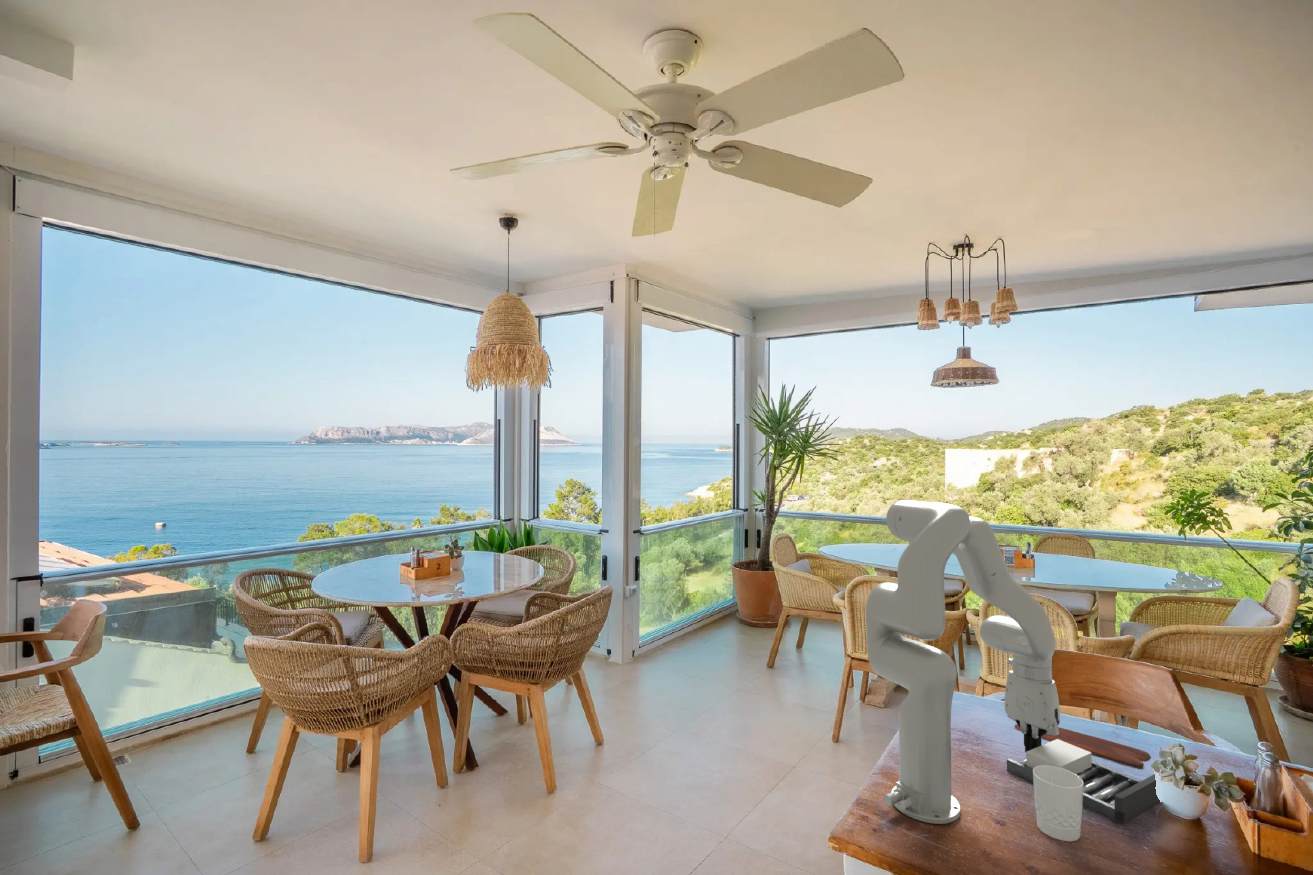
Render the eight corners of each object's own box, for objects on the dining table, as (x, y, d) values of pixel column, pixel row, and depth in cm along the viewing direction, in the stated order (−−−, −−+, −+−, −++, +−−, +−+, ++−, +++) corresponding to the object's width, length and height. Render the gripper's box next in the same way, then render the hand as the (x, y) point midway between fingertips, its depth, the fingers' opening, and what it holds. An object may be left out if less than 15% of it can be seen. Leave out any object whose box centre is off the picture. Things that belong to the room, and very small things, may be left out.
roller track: (1122, 825, 114) (1121, 798, 114) (1006, 770, 134) (1006, 747, 134) (1162, 801, 122) (1162, 776, 122) (1048, 752, 141) (1047, 731, 141)
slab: (1060, 781, 126) (1060, 766, 126) (1026, 765, 132) (1026, 751, 132) (1091, 766, 131) (1091, 752, 131) (1057, 752, 138) (1057, 738, 138)
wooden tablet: (1151, 757, 141) (1151, 750, 141) (1142, 772, 134) (1142, 765, 134) (1022, 718, 160) (1022, 712, 160) (1009, 730, 153) (1009, 723, 153)
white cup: (1024, 816, 117) (1023, 764, 117) (1066, 817, 117) (1065, 765, 117) (1049, 843, 109) (1049, 787, 109) (1094, 844, 109) (1093, 788, 109)
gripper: (989, 662, 141) (990, 742, 141) (1058, 685, 128) (1058, 772, 128) (1008, 657, 145) (1009, 734, 145) (1077, 678, 132) (1077, 763, 132)
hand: (1032, 752), depth 137 cm, fingers closed
